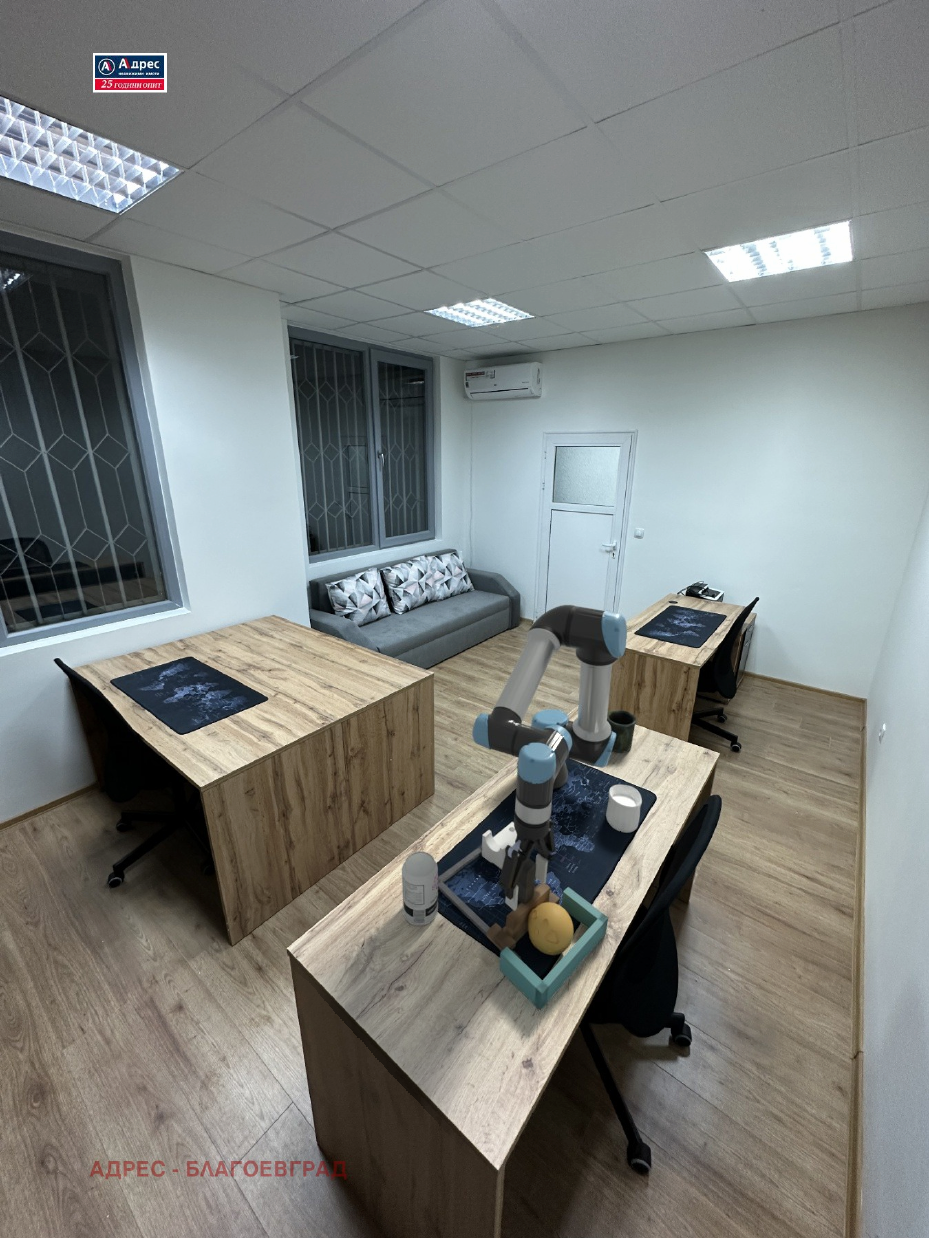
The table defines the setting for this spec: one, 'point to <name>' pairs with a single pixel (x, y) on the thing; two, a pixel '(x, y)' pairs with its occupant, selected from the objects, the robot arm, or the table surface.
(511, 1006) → the table surface
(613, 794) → the cup
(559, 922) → the stress ball
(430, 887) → the supplement can
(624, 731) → the mug
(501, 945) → the carriage
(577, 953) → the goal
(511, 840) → the bracket
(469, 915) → the rails
